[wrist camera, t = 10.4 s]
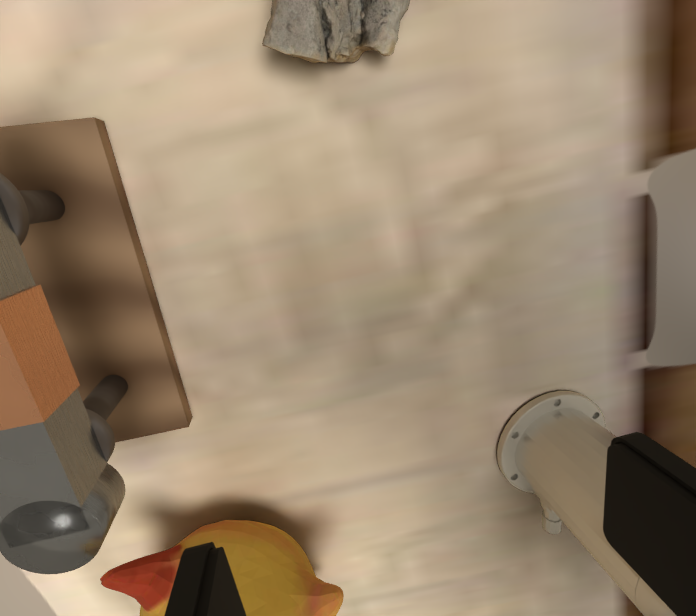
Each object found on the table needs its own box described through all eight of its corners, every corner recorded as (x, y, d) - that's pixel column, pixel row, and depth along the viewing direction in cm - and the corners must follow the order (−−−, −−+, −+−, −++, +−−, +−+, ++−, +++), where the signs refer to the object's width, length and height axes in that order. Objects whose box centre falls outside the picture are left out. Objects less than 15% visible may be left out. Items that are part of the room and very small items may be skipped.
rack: (192, 416, 34) (163, 498, 25) (84, 439, 33) (13, 533, 24) (103, 121, 26) (17, 87, 17) (-42, 136, 25) (-215, 107, 16)
